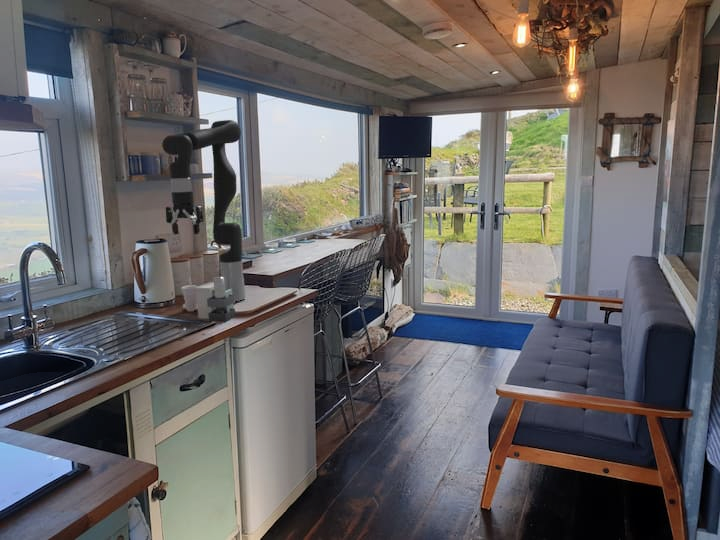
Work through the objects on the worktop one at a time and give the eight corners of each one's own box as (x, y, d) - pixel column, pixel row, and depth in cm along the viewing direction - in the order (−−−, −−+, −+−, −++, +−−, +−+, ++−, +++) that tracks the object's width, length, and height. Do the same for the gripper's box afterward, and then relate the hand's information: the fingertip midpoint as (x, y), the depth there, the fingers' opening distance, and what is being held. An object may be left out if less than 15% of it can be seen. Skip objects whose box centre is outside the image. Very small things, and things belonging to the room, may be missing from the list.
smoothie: (197, 312, 215) (193, 277, 212) (181, 312, 215) (177, 278, 212) (202, 307, 221) (198, 274, 218) (186, 308, 221) (183, 274, 219)
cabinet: (211, 310, 216) (209, 281, 213) (241, 312, 213) (239, 282, 210) (194, 320, 204) (191, 289, 201) (226, 321, 201) (223, 290, 198)
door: (214, 319, 203) (211, 278, 200) (227, 312, 213) (224, 272, 210) (224, 320, 202) (220, 278, 199) (237, 312, 212) (233, 273, 209)
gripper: (204, 189, 201) (208, 232, 204) (170, 190, 205) (175, 232, 208) (193, 191, 194) (197, 235, 197) (159, 191, 197) (163, 235, 201)
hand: (186, 234), depth 203 cm, fingers open, 8 cm apart
